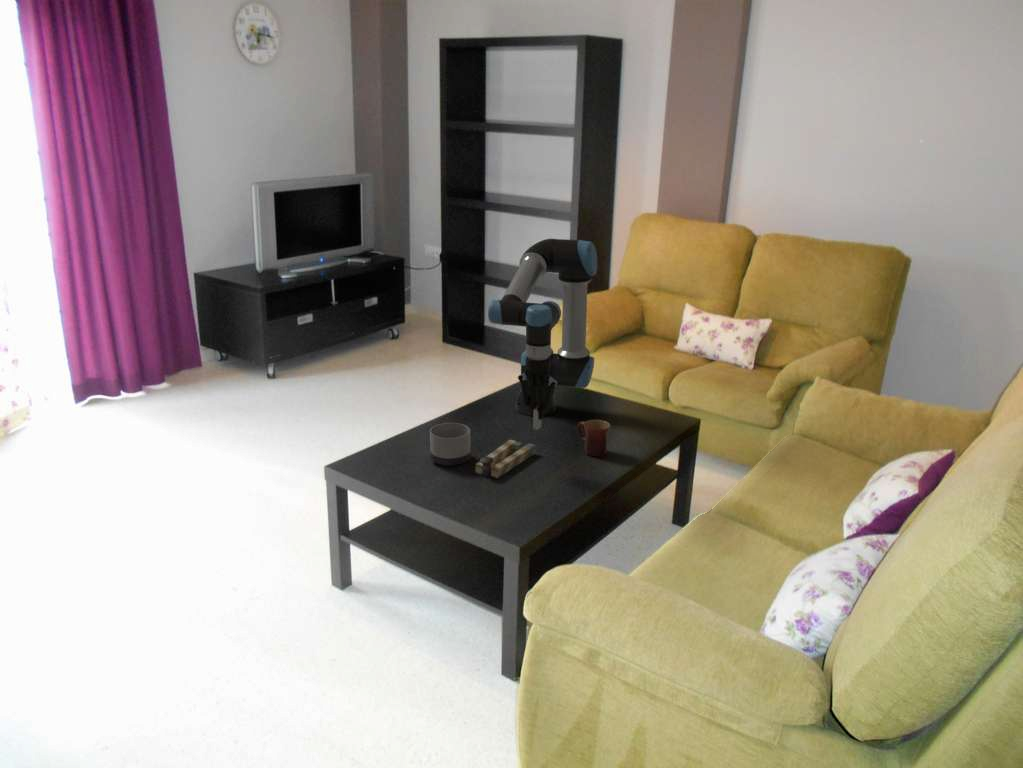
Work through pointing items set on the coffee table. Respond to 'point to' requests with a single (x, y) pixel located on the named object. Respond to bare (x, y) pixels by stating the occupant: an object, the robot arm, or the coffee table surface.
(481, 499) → the coffee table surface
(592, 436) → the mug
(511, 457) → the tongs jaw
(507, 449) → the tongs fixed
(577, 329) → the robot arm
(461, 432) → the planter
